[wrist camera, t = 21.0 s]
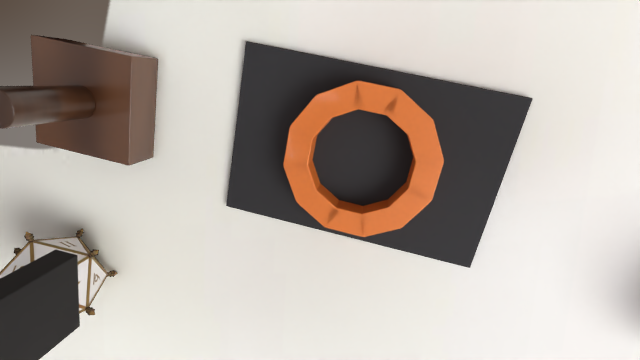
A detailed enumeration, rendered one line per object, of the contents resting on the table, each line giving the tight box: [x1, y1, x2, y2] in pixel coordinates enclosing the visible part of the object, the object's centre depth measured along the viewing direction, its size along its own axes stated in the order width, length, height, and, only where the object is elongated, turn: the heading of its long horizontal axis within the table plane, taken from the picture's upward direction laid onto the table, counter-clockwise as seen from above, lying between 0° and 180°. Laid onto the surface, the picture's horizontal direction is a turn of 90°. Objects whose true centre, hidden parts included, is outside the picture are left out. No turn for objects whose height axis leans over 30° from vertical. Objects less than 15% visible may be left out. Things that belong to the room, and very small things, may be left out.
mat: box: [226, 41, 532, 268], centre depth 26 cm, size 20×13×1 cm, turn 79°
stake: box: [0, 35, 158, 165], centre depth 24 cm, size 8×8×9 cm
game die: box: [0, 229, 117, 315], centre depth 30 cm, size 9×8×10 cm
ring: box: [283, 81, 444, 237], centre depth 25 cm, size 11×11×2 cm
